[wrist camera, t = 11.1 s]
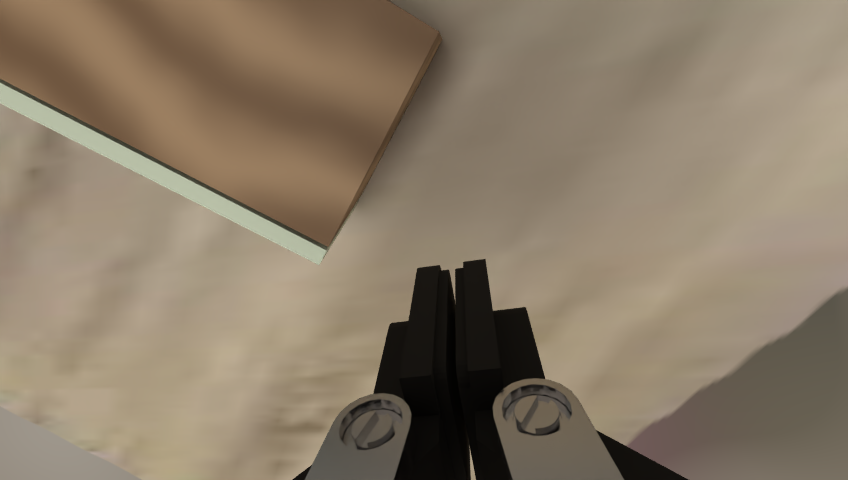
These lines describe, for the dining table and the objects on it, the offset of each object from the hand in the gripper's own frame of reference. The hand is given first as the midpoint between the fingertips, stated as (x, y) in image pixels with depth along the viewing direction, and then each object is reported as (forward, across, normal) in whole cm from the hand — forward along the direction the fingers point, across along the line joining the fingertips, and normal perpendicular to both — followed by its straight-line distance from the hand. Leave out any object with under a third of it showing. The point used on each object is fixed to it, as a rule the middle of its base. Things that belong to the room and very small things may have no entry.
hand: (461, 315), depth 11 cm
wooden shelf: (+28, +13, -8) cm, 32 cm away
